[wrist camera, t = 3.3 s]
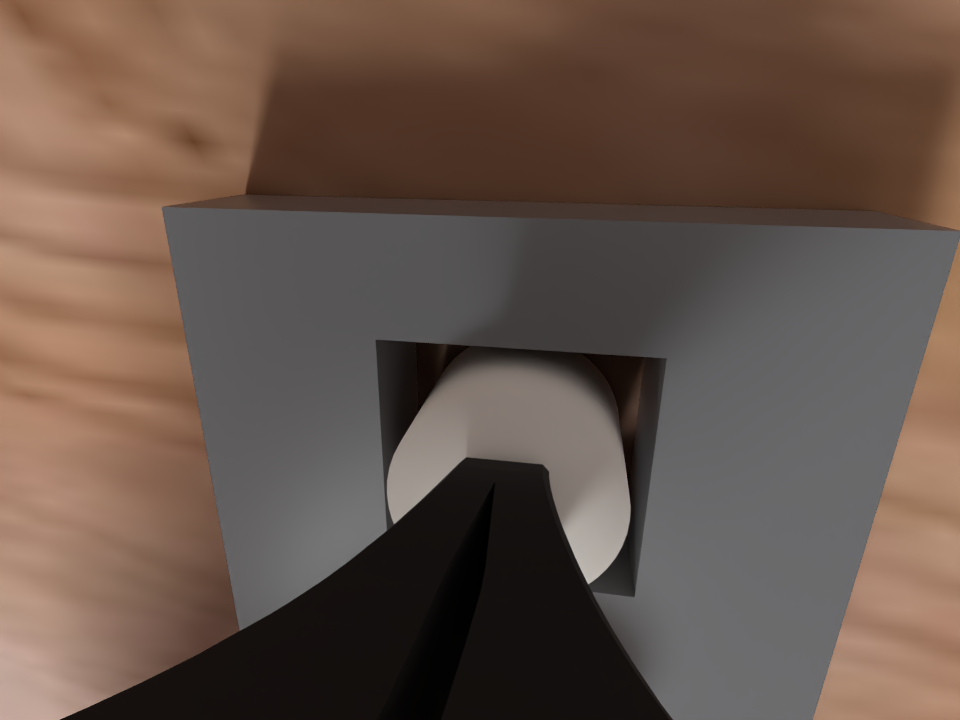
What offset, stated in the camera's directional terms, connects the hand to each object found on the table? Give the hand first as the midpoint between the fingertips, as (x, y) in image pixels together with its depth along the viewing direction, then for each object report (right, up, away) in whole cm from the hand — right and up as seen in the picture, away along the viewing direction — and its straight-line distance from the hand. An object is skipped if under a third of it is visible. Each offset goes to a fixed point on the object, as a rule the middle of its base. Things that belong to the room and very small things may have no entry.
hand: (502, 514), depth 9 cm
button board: (+1, -5, +6) cm, 7 cm away
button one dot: (+1, +1, +3) cm, 3 cm away
